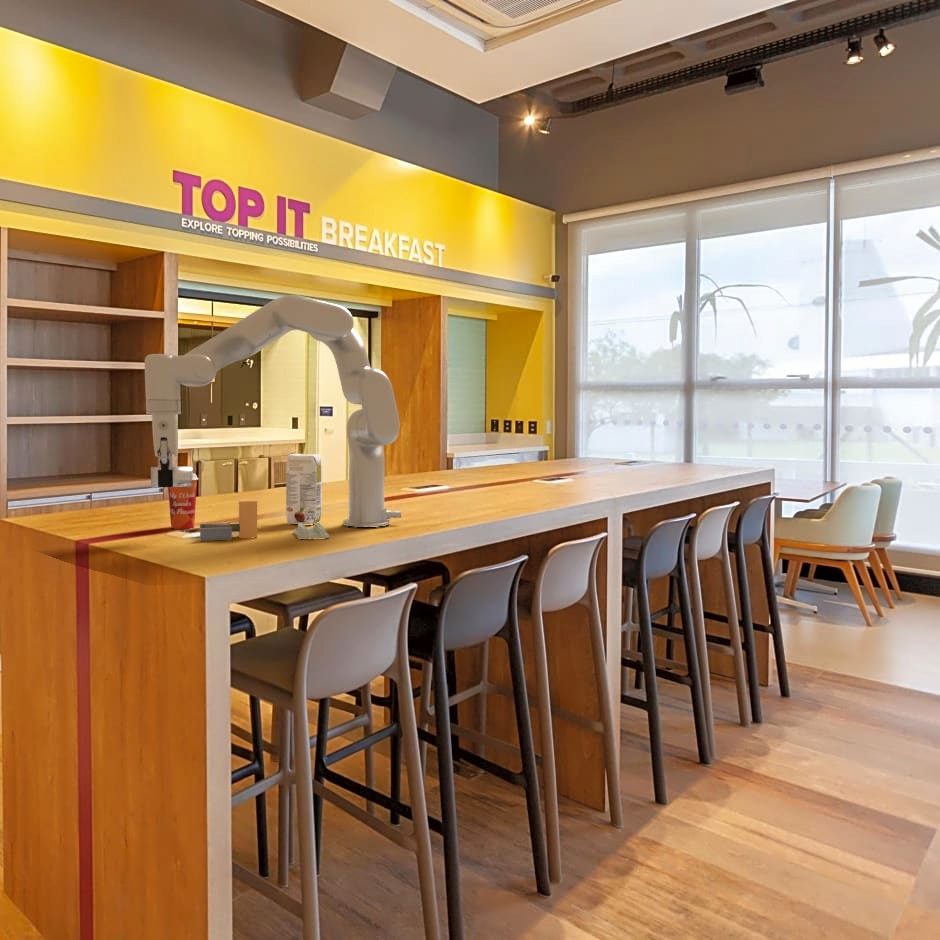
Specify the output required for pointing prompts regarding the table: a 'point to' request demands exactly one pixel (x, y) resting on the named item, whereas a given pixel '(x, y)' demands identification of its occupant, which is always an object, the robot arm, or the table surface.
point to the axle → (174, 476)
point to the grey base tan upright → (243, 519)
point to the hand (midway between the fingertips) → (166, 484)
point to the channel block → (215, 533)
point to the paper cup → (183, 505)
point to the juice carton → (303, 488)
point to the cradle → (310, 531)
